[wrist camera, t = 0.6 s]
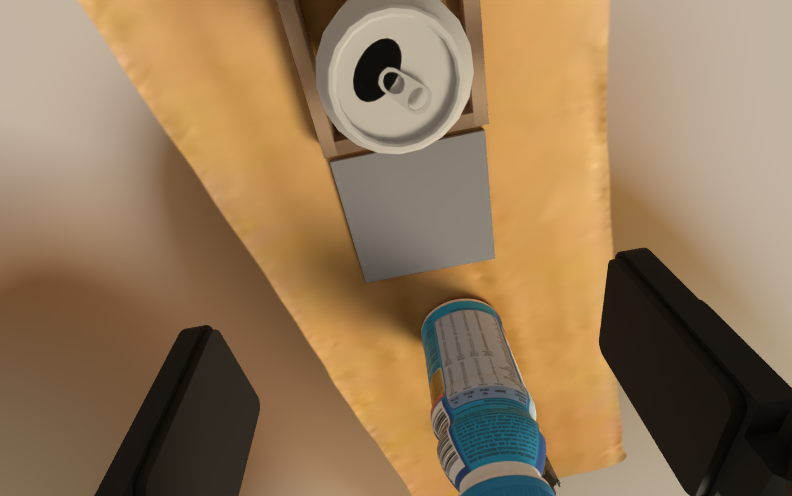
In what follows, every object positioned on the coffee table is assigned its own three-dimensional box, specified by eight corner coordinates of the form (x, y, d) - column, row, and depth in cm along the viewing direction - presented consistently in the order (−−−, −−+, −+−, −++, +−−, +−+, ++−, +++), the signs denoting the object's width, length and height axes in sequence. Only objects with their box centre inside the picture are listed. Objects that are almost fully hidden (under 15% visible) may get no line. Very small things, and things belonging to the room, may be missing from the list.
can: (366, -46, 26) (364, -59, 16) (464, 26, 28) (517, 55, 18) (312, 66, 29) (282, 116, 19) (404, 122, 31) (420, 193, 21)
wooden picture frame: (271, -38, 26) (264, -39, 24) (466, -85, 25) (473, -90, 23) (326, 148, 32) (324, 158, 30) (482, 115, 31) (489, 124, 30)
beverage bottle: (472, 280, 40) (546, 501, 23) (516, 329, 44) (606, 549, 27) (402, 323, 42) (423, 550, 26) (449, 365, 46) (493, 588, 30)
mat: (330, 160, 33) (329, 162, 32) (483, 128, 32) (484, 130, 32) (365, 280, 39) (365, 282, 39) (493, 256, 38) (495, 258, 38)
